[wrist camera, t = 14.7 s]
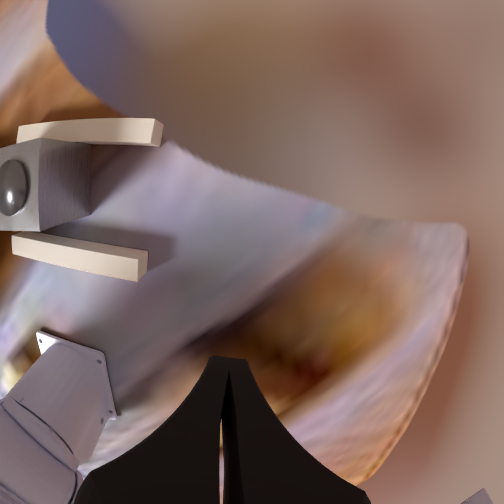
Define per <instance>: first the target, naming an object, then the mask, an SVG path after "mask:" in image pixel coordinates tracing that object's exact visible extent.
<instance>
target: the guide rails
mask: <svg viewBox="0 0 504 504" xmlns="http://www.w3.org/2000/svg"><path fill="white" fill-rule="evenodd" d="M163 127H164V125H163V124H162V123H161V122H159V121H158V120H156V119H151V118H96V119H77V120H64V121H54V122H45V123H37V124H30V125H23V126H19V130H18V135H17V142H16V144H17V143H21V142H24V141H28V140H32V139H37V138H48V139H56V140H63V141H69V142H76V143H82V144H115V145H139V146H155V147H160V144H161V138H162V133H163ZM11 236H12V252H13V254H16V255H19V256H23V257H27V258H31V259H35V260H39V261H43V262H47V263H51V264H55V265H59V266H63V267H68V268H72V269H76V270H81V271H85V272H90V273H95V274H99V275H104V276H109V277H114V278H119V279H124V280H129V281H134V282H138V281H139V280H140V279H141V278H142V277H143V276H144V275H145V274H146V272H147V263H148V251H144V250H138V249H132V248H126V247H120V246H114V245H108V244H102V243H96V242H90V241H84V240H78V239H72V238H66V237H61V236H55V235H49V234H44V233H38V232H33V231H23V232H20V233H17V234H14V235H11Z"/></svg>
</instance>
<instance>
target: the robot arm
mask: <svg viewBox="0 0 504 504" xmlns="http://www.w3.org/2000/svg"><path fill="white" fill-rule="evenodd" d="M36 336H37V340H38V344H39V347H40V351H41V354H42V355H41V356H40V357H39V358H38V359H37V361H36V362H35V363H34V364H33V365H32V366H31V367H30V368H29V369H28V371H27V372H26V373H25V374H24V375H23V376H22V377H21V379H20V380H19V381H18V382H17V383H16V384H15V386H14V387H13V388H12V389H11V390H10V392H9V393H8V394H7V395H6V396H5V398H3V399H2V400H0V504H220V491H219V452H220V423H221V418H222V439H223V456H224V490H223V504H371V502H370V500H369V498H368V497H367V495H366V493H365V491H363V490H361V489H359V488H358V487H356V486H354V485H352V484H351V483H349V482H347V481H345V480H344V479H342V478H340V477H339V476H337V475H336V474H334V473H333V472H332V471H330V470H329V469H328V468H326V467H325V466H324V465H322V464H321V463H320V462H319V461H318V460H316V459H315V458H314V457H313V456H312V455H311V454H310V453H308V452H307V451H306V450H305V449H304V448H303V447H302V446H301V445H300V444H299V443H298V442H297V441H296V440H295V439H294V438H293V436H292V435H291V434H290V433H289V432H288V431H287V429H286V428H285V427H284V426H283V424H282V423H281V422H280V420H279V419H278V418H277V416H276V415H275V413H274V412H273V411H272V409H271V407H270V406H269V404H268V403H267V401H266V399H265V398H264V396H263V394H262V392H261V391H260V389H259V387H258V385H257V383H256V381H255V379H254V376H253V374H252V372H251V369H250V367H249V364H248V362H247V361H246V360H245V359H236V358H228V357H220V356H211V357H209V360H208V363H207V365H206V367H205V369H204V371H203V373H202V375H201V377H200V378H199V380H198V381H197V383H196V384H195V386H194V388H193V389H192V390H191V392H190V393H189V395H188V396H187V397H186V398H185V400H184V401H183V402H182V403H181V405H180V406H179V407H178V408H177V409H176V410H175V412H174V413H173V414H172V415H171V416H170V417H169V418H168V419H167V420H166V421H165V422H164V423H163V424H162V425H161V426H160V427H159V428H157V429H156V430H155V431H154V432H153V433H152V434H151V435H149V436H148V437H147V438H146V439H144V440H143V441H142V442H140V443H139V444H137V445H136V446H135V447H133V448H132V449H130V450H129V451H127V452H126V453H124V454H123V455H121V456H119V457H118V458H116V459H114V460H112V461H110V462H108V463H106V464H105V465H103V466H101V467H99V468H97V469H94V470H92V471H91V472H90V473H89V474H88V475H87V477H86V478H85V479H84V480H83V477H82V475H81V473H80V472H79V471H78V470H77V468H78V466H79V465H81V464H83V463H85V462H86V461H87V460H88V459H89V458H90V457H91V455H92V453H93V451H94V449H95V446H96V444H97V442H98V439H99V437H100V435H101V433H102V430H103V428H104V426H105V424H106V421H107V419H111V420H116V419H117V414H116V410H115V406H114V401H113V397H112V392H111V388H110V383H109V378H108V372H107V367H106V361H105V356H104V354H103V353H102V352H101V351H98V350H95V349H91V348H88V347H85V346H82V345H79V344H76V343H73V342H70V341H67V340H64V339H61V338H59V337H56V336H53V335H50V334H48V333H45V332H43V331H40V330H39V331H38V332H37V333H36ZM461 504H493V502H492V500H491V499H490V497H489V495H488V494H487V492H486V490H485V489H484V488H483V489H481V490H480V491H478V492H477V493H475V494H474V495H472V496H471V497H469V498H468V499H466V500H465V501H464V502H462V503H461Z"/></svg>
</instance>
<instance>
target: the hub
mask: <svg viewBox="0 0 504 504" xmlns="http://www.w3.org/2000/svg"><path fill="white" fill-rule="evenodd" d="M91 156H92V145H88V144H82V143H76V142H69V141H63V140H56V139H48V138H37V139H32V140H28V141H24V142H21V143H17V144H13V145H10V146H7V147H3V148H0V231H42V230H45V229H48V228H51V227H54V226H57V225H60V224H63V223H66V222H69V221H72V220H75V219H79V218H82V217H85V216H88V215H90V177H91Z"/></svg>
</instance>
